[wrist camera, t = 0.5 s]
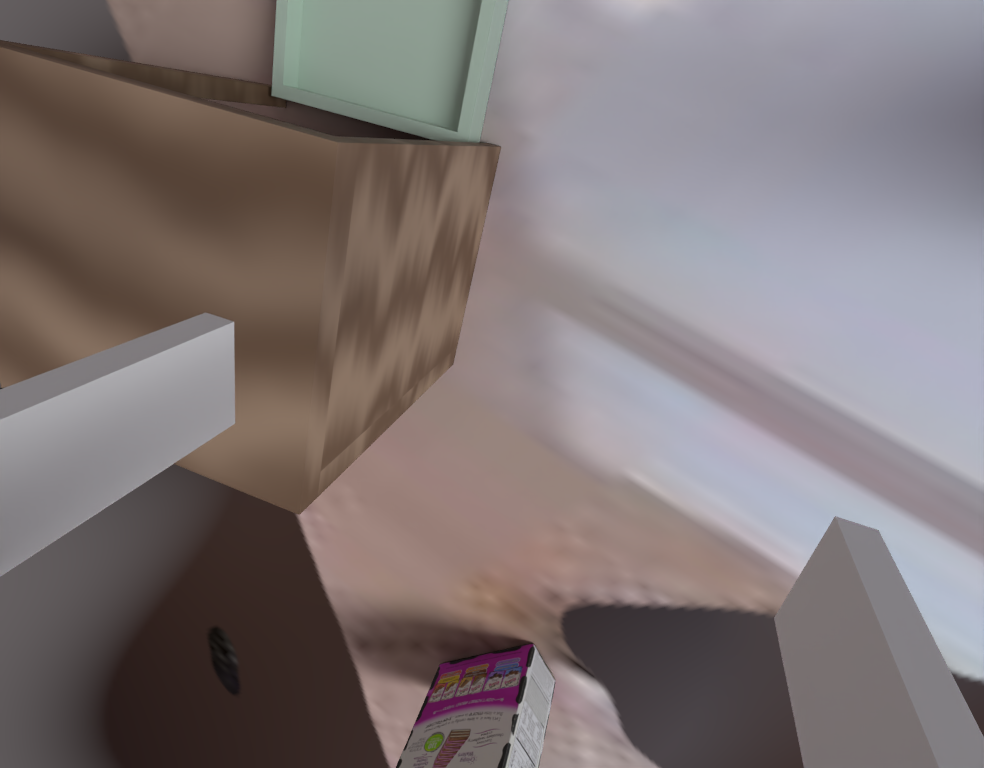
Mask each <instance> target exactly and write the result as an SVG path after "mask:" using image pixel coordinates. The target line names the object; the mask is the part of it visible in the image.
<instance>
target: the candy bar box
mask: <svg viewBox="0 0 984 768" xmlns="http://www.w3.org/2000/svg"><path fill="white" fill-rule="evenodd" d="M555 682H556V680H555V678H554V676H553V674H552V672H551V671H550V669H549V668H548V667H547V665H546V664H545V662H544V660H543V658H542V657H541V655H540V653H539V651H538V650H537V648H536V647H535V645H534V644H528V645H523V646H519V647H514V648H510V649H506V650H501V651H497V652H492V653H488V654H484V655H480V656H475V657H471V658H467V659H462V660H457V661H453V662H448V663H443V664H440V665H439V668H438V670H437V673H436V675H435V677H434V680H433V682H432V684H431V687H430V689H429V691H428V693H427V696H426V698H425V701H424V703H423V705H422V708H421V710H420V712H419V715H418V717H417V720H416V722H415V724H414V726H413V729H412V731H411V734H410V736H409V738H408V741H407V743H406V745H405V748H404V750H403V752H402V754H401V757H400V759H399V761H398V764H397V766H396V768H539V763H540V758H541V754H542V749H543V742H544V738H545V733H546V728H547V723H548V718H549V713H550V708H551V702H552V698H553V693H554V687H555Z"/></svg>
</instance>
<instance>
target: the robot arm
mask: <svg viewBox="0 0 984 768" xmlns="http://www.w3.org/2000/svg"><path fill="white" fill-rule="evenodd" d="M234 424H235V357H234V321H230V320H227V319H224V318H221V317H218V316H215V315H212V314H209V313H203V314H200V315H198V316H195V317H192V318H190V319H187V320H184V321H182V322H179V323H176V324H174V325H171V326H168V327H166V328H163V329H160V330H158V331H155V332H152V333H150V334H147V335H144V336H142V337H139V338H136V339H134V340H131V341H128V342H126V343H123V344H120V345H118V346H115V347H112V348H109V349H107V350H104V351H101V352H99V353H96V354H93V355H91V356H88V357H85V358H83V359H80V360H77V361H75V362H72V363H69V364H67V365H64V366H61V367H59V368H56V369H53V370H51V371H48V372H45V373H43V374H40V375H37V376H35V377H32V378H29V379H27V380H24V381H21V382H19V383H16V384H13V385H11V386H8V387H4V388H0V576H1V575H3V574H5V573H6V572H8V571H9V570H11V569H12V568H14V567H15V566H17V565H19V564H20V563H22V562H23V561H25V560H26V559H28V558H29V557H31V556H32V555H34V554H35V553H37V552H39V551H40V550H42V549H43V548H45V547H46V546H48V545H49V544H51V543H52V542H54V541H55V540H57V539H58V538H60V537H61V536H63V535H65V534H66V533H68V532H69V531H71V530H72V529H74V528H75V527H77V526H78V525H80V524H82V523H83V522H85V521H86V520H88V519H89V518H91V517H92V516H94V515H95V514H97V513H98V512H100V511H102V510H103V509H104V508H106V507H108V506H109V505H111V504H112V503H114V502H115V501H117V500H118V499H120V498H122V497H123V496H125V495H126V494H128V493H129V492H131V491H132V490H134V489H135V488H137V487H138V486H140V485H141V484H143V483H145V482H146V481H148V480H149V479H151V478H152V477H154V476H155V475H157V474H158V473H160V472H161V471H163V470H164V469H166V468H168V467H169V466H171V465H172V464H174V463H175V462H177V461H178V460H180V459H181V458H183V457H185V456H186V455H188V454H189V453H191V452H192V451H194V450H195V449H197V448H198V447H200V446H201V445H203V444H205V443H206V442H208V441H209V440H211V439H212V438H214V437H215V436H217V435H218V434H220V433H221V432H223V431H225V430H226V429H228V428H229V427H231V426H232V425H234ZM774 619H775V624H776V629H777V634H778V639H779V644H780V649H781V654H782V659H783V664H784V669H785V674H786V679H787V684H788V689H789V694H790V699H791V704H792V709H793V714H794V719H795V724H796V729H797V734H798V739H799V744H800V749H801V754H802V759H803V764H804V768H984V737H983V735H982V733H981V731H980V729H979V727H978V725H977V723H976V721H975V719H974V718H973V715H972V714H971V711H970V710H969V708H968V705H967V704H966V702H965V700H964V698H963V696H962V694H961V692H960V690H959V688H958V686H957V684H956V682H955V680H954V678H953V676H952V674H951V672H950V670H949V668H948V666H947V664H946V662H945V660H944V658H943V656H942V654H941V652H940V650H939V648H938V646H937V645H936V643H935V641H934V639H933V637H932V635H931V633H930V631H929V629H928V627H927V625H926V623H925V621H924V619H923V617H922V615H921V613H920V611H919V609H918V607H917V605H916V603H915V601H914V599H913V597H912V595H911V593H910V591H909V589H908V587H907V585H906V584H905V582H904V580H903V578H902V576H901V574H900V572H899V570H898V568H897V566H896V564H895V562H894V560H893V558H892V556H891V554H890V552H889V550H888V548H887V546H886V544H885V542H884V540H883V538H882V536H881V534H880V532H879V530H876V529H873V528H870V527H867V526H864V525H860V524H857V523H854V522H851V521H848V520H845V519H842V518H839V517H836V516H835V517H834V519H833V521H832V522H831V524H830V526H829V527H828V529H827V531H826V532H825V534H824V536H823V537H822V539H821V541H820V542H819V544H818V546H817V547H816V549H815V551H814V552H813V554H812V556H811V557H810V559H809V561H808V562H807V564H806V566H805V567H804V569H803V571H802V572H801V574H800V576H799V577H798V579H797V581H796V583H795V584H794V586H793V588H792V589H791V591H790V593H789V594H788V596H787V598H786V599H785V601H784V603H783V604H782V606H781V608H780V609H779V611H778V613H777V614H776V616H775V618H774Z"/></svg>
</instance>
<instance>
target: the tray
mask: <svg viewBox="0 0 984 768" xmlns="http://www.w3.org/2000/svg"><path fill="white" fill-rule="evenodd" d="M508 1H509V0H277V3H276V22H275V40H274V58H273V77H272V95H271V96H275V97H279V98H282V99H286V100H290V101H293V102H297V103H300V104H304V105H308V106H311V107H315V108H319V109H322V110H326V111H330V112H333V113H337V114H341V115H344V116H348V117H352V118H355V119H359V120H363V121H366V122H370V123H373V124H377V125H381V126H384V127H388V128H392V129H395V130H399V131H403V132H406V133H410V134H414V135H417V136H421V137H425V138H428V139H432V140H436V141H453V142H475V143H479V142H480V138H481V133H482V128H483V123H484V118H485V113H486V108H487V103H488V99H489V94H490V89H491V84H492V79H493V74H494V69H495V64H496V59H497V55H498V50H499V45H500V40H501V35H502V30H503V25H504V20H505V16H506V11H507V6H508Z"/></svg>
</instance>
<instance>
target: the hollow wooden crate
mask: <svg viewBox="0 0 984 768" xmlns="http://www.w3.org/2000/svg"><path fill="white" fill-rule="evenodd" d="M271 95H272V85H268V84H262V83H255V82H249V81H243V80H237V79H231V78H225V77H219V76H213V75H207V74H201V73H195V72H189V71H183V70H177V69H171V68H165V67H159V66H153V65H147V64H141V63H135V62H129V61H123V60H117V59H111V58H105V57H99V56H92V55H87V54H80V53H75V52H69V51H63V50H57V49H50V48H45V47H39V46H32V45H26V44H20V43H14V42H8V41H2V40H0V382H1V388H4V387H8V386H11V385H13V384H16V383H19V382H21V381H24V380H27V379H29V378H32V377H35V376H37V375H40V374H43V373H45V372H48V371H51V370H53V369H56V368H59V367H61V366H64V365H67V364H69V363H72V362H75V361H77V360H80V359H83V358H85V357H88V356H91V355H93V354H96V353H99V352H101V351H104V350H107V349H109V348H112V347H115V346H118V345H120V344H123V343H126V342H128V341H131V340H134V339H136V338H139V337H142V336H144V335H147V334H150V333H152V332H155V331H158V330H160V329H163V328H166V327H168V326H171V325H174V324H176V323H179V322H182V321H184V320H187V319H190V318H192V317H195V316H198V315H200V314H203V313H209V314H212V315H215V316H218V317H221V318H224V319H227V320H230V321H234V357H235V424H234V425H232V426H231V427H229V428H228V429H226V430H225V431H223V432H221V433H220V434H218V435H217V436H215V437H214V438H212V439H211V440H209V441H208V442H206V443H205V444H203V445H201V446H200V447H198V448H197V449H195V450H194V451H192V452H191V453H189V454H188V455H186V456H185V457H183V458H181V459H180V460H178V461H177V462H175V463H174V464H176V465H178V466H181V467H183V468H186V469H188V470H191V471H193V472H195V473H198V474H200V475H203V476H205V477H208V478H210V479H213V480H215V481H218V482H220V483H222V484H225V485H227V486H230V487H232V488H235V489H238V490H240V491H242V492H245V493H247V494H249V495H252V496H254V497H257V498H259V499H262V500H264V501H267V502H269V503H272V504H274V505H277V506H279V507H281V508H284V509H286V510H289V511H291V512H294V513H296V514H299V515H300V514H301V513H302V512H303V511H304V510H305V509H306V508H307V507H308V506H309V505H310V504H311V503H312V502H313V501H314V500H315V499H316V498H317V497H318V496H319V495H320V494H321V493H322V492H323V491H324V490H325V489H326V488H327V487H328V486H329V485H330V484H331V483H332V482H333V481H335V480H336V479H337V478H338V477H339V476H340V475H341V474H342V473H343V472H344V471H345V470H346V469H347V468H348V467H349V466H350V465H351V464H352V463H353V462H354V461H355V460H356V459H357V458H358V457H359V456H360V455H361V454H362V453H363V452H364V451H365V450H366V449H367V448H368V447H369V446H370V445H371V444H372V443H373V442H374V441H375V440H376V439H377V438H378V437H379V436H380V435H381V434H383V433H384V432H385V431H386V430H387V429H388V428H389V427H390V426H391V425H392V424H393V423H394V422H395V421H396V420H397V419H398V418H399V417H400V416H401V415H402V414H403V413H404V412H405V411H406V410H407V409H408V408H409V407H410V406H411V405H412V404H413V403H414V402H415V401H416V400H417V399H418V398H419V397H420V396H421V395H422V394H423V393H424V392H425V391H426V390H427V389H428V388H429V387H431V386H432V385H433V384H434V383H435V382H436V381H437V380H438V379H439V378H440V377H441V376H442V375H443V374H444V373H445V372H446V371H447V370H448V369H449V368H450V367H451V366H452V365H453V362H454V358H455V353H456V349H457V344H458V340H459V335H460V331H461V326H462V322H463V317H464V313H465V308H466V303H467V299H468V294H469V290H470V285H471V281H472V276H473V272H474V267H475V263H476V258H477V254H478V249H479V245H480V240H481V236H482V231H483V227H484V222H485V217H486V213H487V208H488V204H489V199H490V195H491V190H492V186H493V181H494V177H495V172H496V168H497V163H498V159H499V154H500V150H501V147H500V146H496V145H492V144H489V143H475V142H453V141H431V140H409V139H387V138H365V137H343V136H333V135H329V134H326V133H322V132H318V131H315V130H311V129H308V128H304V127H301V126H297V125H294V124H290V123H286V122H283V121H279V120H276V119H272V118H269V117H265V116H262V115H258V114H254V113H251V112H247V111H244V110H240V109H237V108H233V107H230V106H226V105H222V104H219V103H215V102H212V101H208V100H205V99H201V98H206V99H214V100H223V101H232V102H241V103H250V104H258V105H267V106H276V107H285V108H286V99H282V98H279V97H275V96H271Z"/></svg>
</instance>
